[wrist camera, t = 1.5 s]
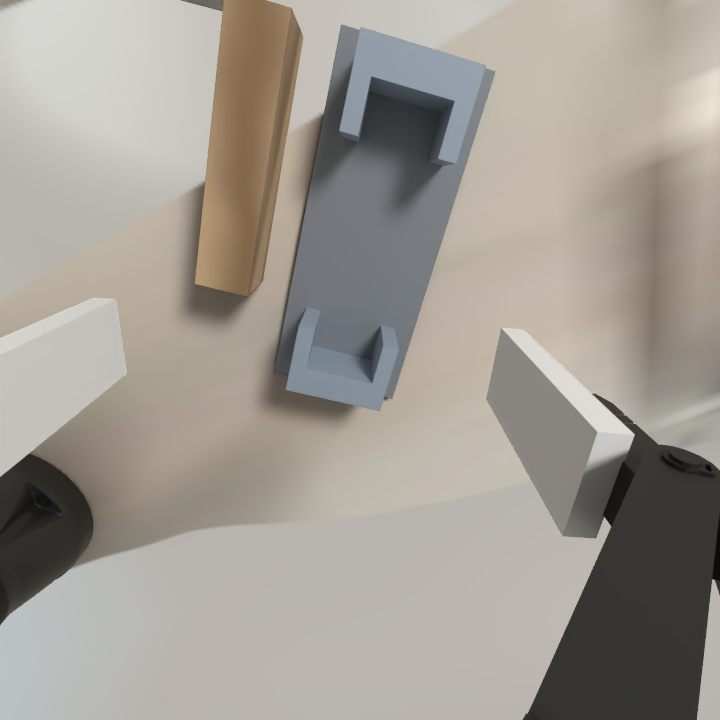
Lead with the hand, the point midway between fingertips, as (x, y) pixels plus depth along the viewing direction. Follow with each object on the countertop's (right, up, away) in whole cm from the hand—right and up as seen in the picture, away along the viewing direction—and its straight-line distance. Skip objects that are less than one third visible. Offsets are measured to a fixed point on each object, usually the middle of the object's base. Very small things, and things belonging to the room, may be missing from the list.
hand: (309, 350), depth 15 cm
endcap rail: (+2, +9, +17) cm, 19 cm away
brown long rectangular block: (-5, +13, +15) cm, 21 cm away
